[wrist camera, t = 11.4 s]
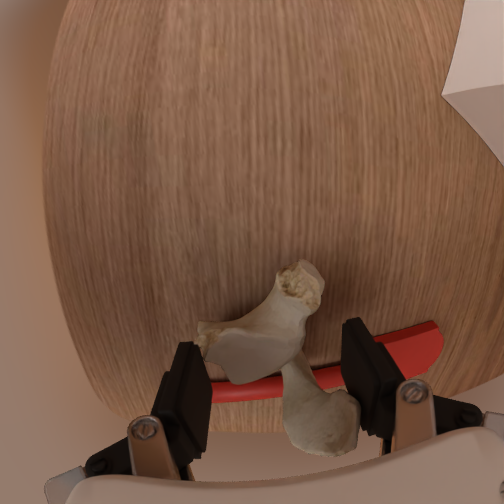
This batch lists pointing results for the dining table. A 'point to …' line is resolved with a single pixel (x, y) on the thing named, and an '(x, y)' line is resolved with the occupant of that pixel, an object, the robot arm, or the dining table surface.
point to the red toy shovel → (397, 343)
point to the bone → (286, 361)
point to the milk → (480, 72)
